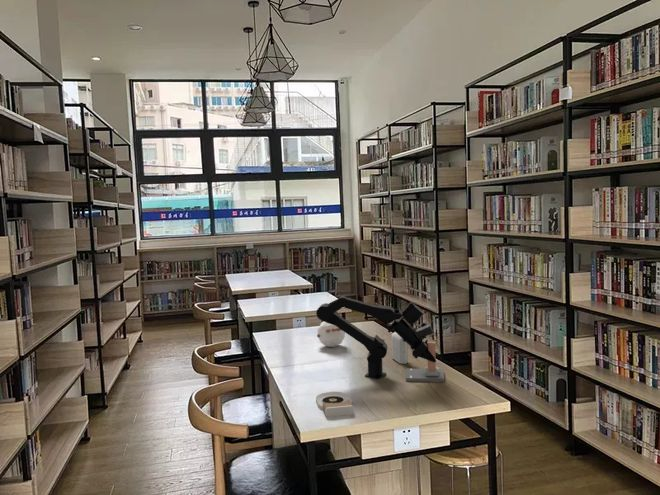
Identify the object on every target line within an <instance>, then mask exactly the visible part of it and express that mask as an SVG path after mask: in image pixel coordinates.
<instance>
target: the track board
mask: <svg viewBox="0 0 660 495" xmlns="http://www.w3.org/2000/svg"><path fill="white" fill-rule="evenodd" d="M438 371H439V376H425V368H406V370H405V382H421V383H422V382H423V383H424V382H427V383H428V382H433V383H445V375H444V369H443V368H438Z"/></svg>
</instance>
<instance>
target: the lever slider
mask: <svg viewBox="0 0 660 495" xmlns="http://www.w3.org/2000/svg"><path fill="white" fill-rule="evenodd" d="M427 344H428V350H429V351H430V352H431V354H432V355H433V356H434V358H435V359H436V360H437V358H436V354H437V353H436V351H437V350H436V341H428V342H427ZM436 363H437V361H436V362H432V361H429V360H427V365H426V366H424V369H425V376H439V371H438V369H439V366H437V364H436Z"/></svg>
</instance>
